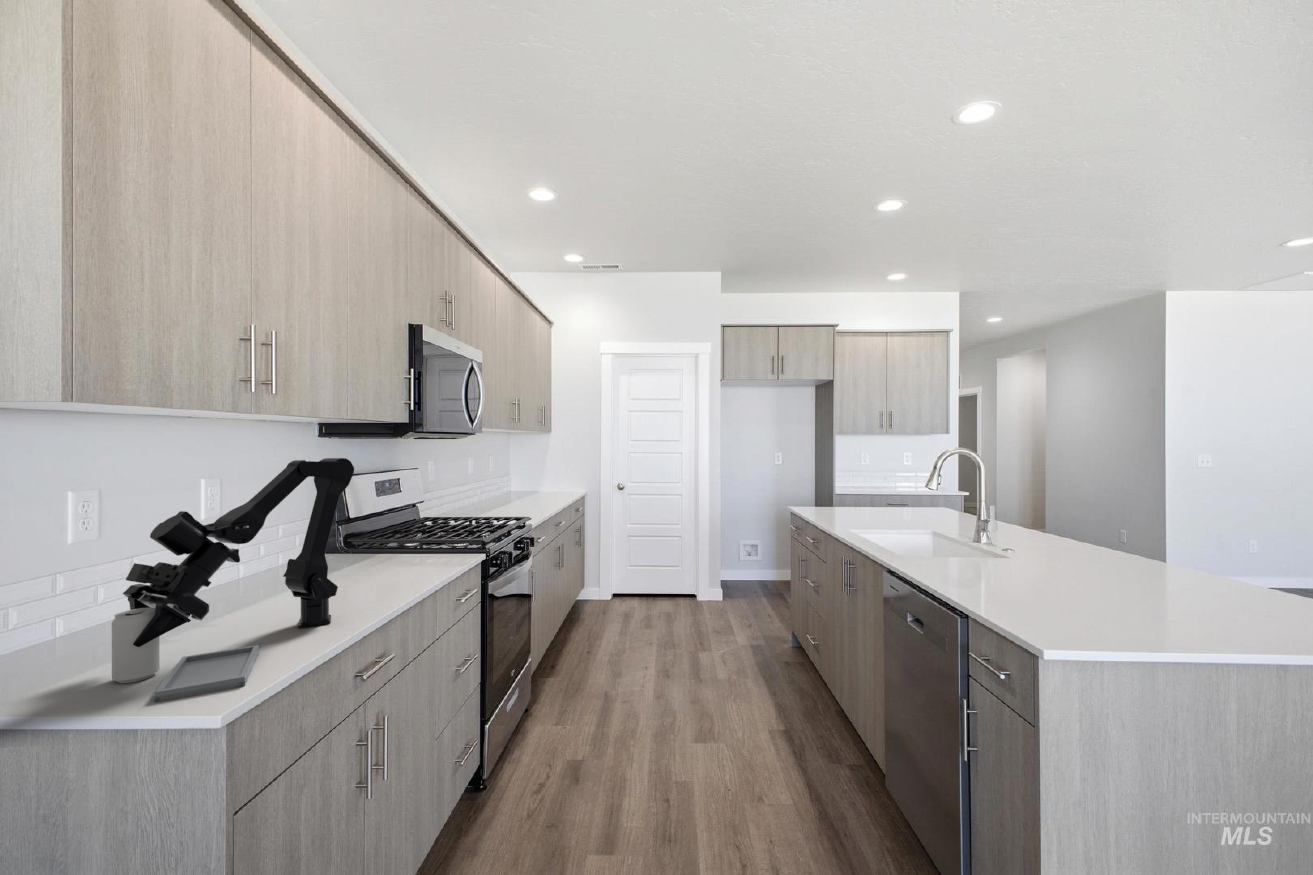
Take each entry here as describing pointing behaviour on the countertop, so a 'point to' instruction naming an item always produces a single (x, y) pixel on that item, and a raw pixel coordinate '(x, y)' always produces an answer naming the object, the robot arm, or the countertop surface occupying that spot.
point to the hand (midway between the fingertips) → (126, 643)
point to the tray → (208, 673)
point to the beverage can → (133, 647)
